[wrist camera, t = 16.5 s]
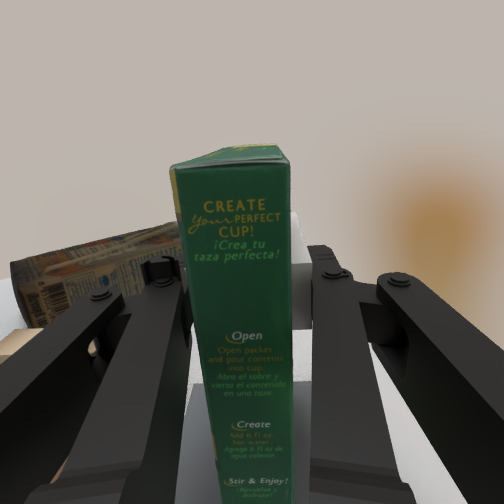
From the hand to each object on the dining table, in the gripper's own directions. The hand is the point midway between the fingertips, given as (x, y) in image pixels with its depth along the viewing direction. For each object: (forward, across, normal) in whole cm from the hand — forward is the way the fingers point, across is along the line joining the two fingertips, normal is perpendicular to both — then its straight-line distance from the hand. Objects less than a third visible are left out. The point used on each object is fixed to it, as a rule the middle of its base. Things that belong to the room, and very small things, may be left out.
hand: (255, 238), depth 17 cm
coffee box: (-5, 0, -8) cm, 10 cm away
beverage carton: (+15, -17, -12) cm, 26 cm away
